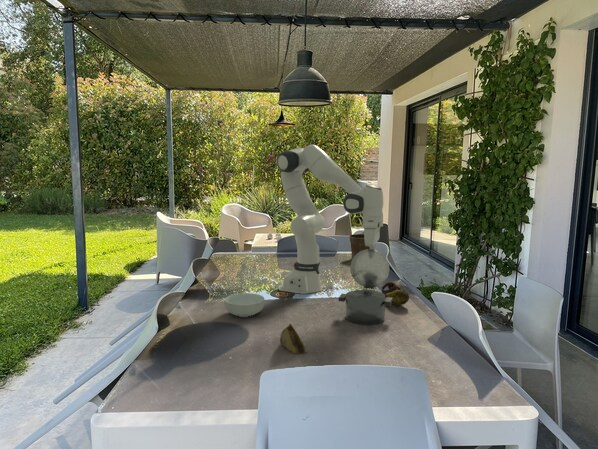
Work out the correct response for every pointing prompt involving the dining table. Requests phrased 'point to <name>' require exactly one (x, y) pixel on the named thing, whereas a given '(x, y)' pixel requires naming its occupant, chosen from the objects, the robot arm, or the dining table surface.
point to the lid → (369, 268)
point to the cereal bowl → (244, 304)
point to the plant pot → (357, 244)
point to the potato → (398, 297)
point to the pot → (365, 306)
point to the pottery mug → (390, 287)
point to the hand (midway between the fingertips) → (372, 252)
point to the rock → (292, 340)
